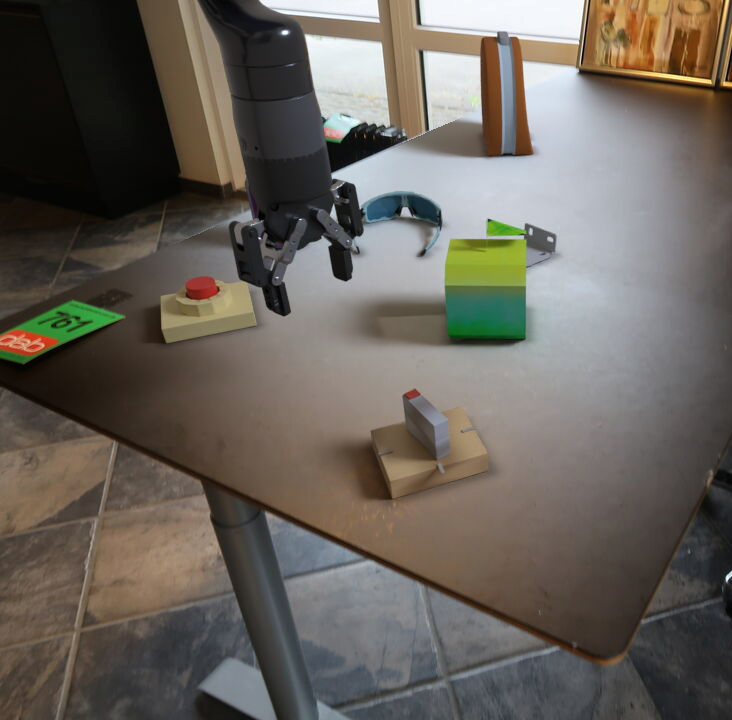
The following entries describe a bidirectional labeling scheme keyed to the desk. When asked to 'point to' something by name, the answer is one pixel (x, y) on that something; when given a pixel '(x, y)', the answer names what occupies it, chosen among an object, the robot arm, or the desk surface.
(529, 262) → the bracket
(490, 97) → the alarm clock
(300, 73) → the robot arm
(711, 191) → the desk surface
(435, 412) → the upright gray plate
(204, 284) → the release button
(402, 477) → the block
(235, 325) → the box
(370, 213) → the sunglasses
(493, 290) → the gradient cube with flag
